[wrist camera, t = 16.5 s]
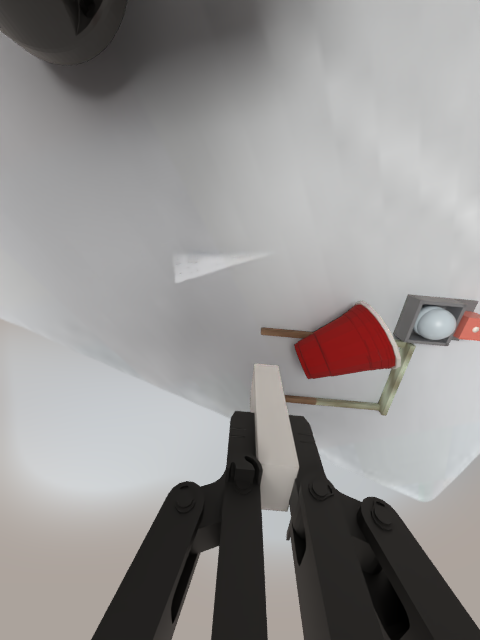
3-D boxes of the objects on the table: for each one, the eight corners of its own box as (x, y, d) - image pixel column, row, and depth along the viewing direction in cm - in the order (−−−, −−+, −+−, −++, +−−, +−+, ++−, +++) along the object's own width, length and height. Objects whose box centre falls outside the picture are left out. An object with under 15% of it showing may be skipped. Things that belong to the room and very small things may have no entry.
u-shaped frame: (261, 327, 40) (262, 332, 38) (408, 340, 40) (415, 346, 38) (252, 396, 46) (252, 403, 44) (380, 407, 46) (386, 415, 44)
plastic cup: (302, 359, 44) (367, 336, 41) (320, 409, 35) (404, 384, 32) (282, 316, 39) (355, 286, 36) (297, 362, 30) (396, 327, 27)
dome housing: (408, 294, 37) (425, 302, 33) (476, 300, 37) (501, 309, 33) (393, 333, 40) (407, 344, 36) (457, 339, 40) (478, 351, 36)
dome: (413, 301, 37) (436, 312, 33) (444, 304, 37) (472, 316, 33) (402, 329, 39) (422, 344, 34) (431, 332, 39) (456, 347, 34)
